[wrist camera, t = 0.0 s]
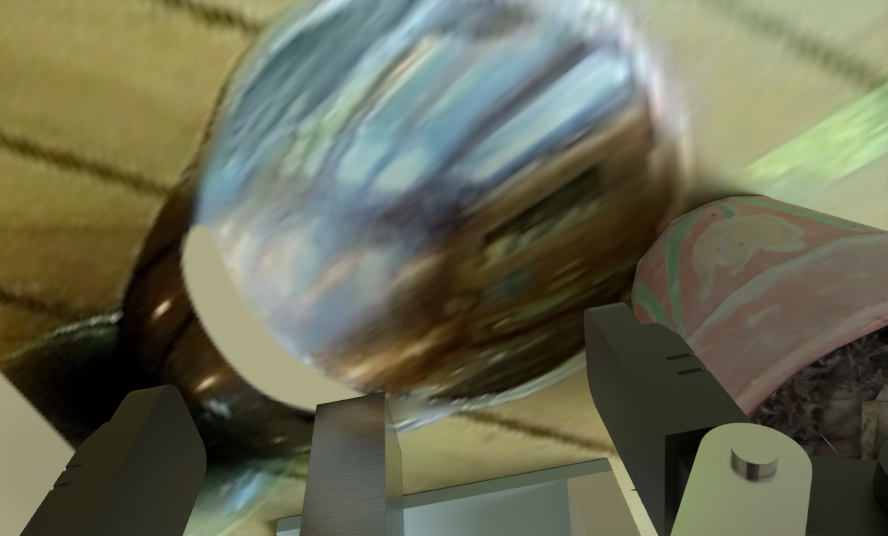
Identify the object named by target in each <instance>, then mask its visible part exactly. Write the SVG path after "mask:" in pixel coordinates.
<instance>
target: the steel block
mask: <svg viewBox="0 0 888 536" xmlns="http://www.w3.org/2000/svg"><path fill="white" fill-rule="evenodd" d="M299 536H405V532H404V507H403V482H402V457H401V449H400V445H399V442H398V438H397V435H396V431H395V427H394V424H393V420H392V417H391V413H390V409H389V406H388V402H387V399H386V395H385V392H383V393H378V394H373V395H367V396H362V397H356V398H351V399H346V400H340V401H335V402H330V403H325V404H319V405H317V407H316V415H315V422H314V430H313V437H312V445H311V452H310V459H309V467H308V474H307V482H306V489H305V497H304V504H303V512H302V519H301V526H300V534H299Z"/></svg>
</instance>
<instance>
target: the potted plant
mask: <svg viewBox="0 0 888 536" xmlns="http://www.w3.org/2000/svg"><path fill="white" fill-rule="evenodd" d="M631 301H632V306H633V308H634V313H635V317H636V318H637V319H638V321H639V322H640V323H641V325H646V324H651V323H656V322H657V323H659V324H661V325H663V326H665V327H666V328H668V329H670V330H672V331H673V332H675V333H677V334H679V335H680V336H681V337H682V338H683V339H684V341H685V342H686V343H687V344H688V345H689V347H690V348H691V349H692V350H693V351H694V354H695V356H698V358H699V359H700V360H701V361H702V362H703V364H704V365H705V366H706V369H707V371H710V372H711V373H712V375H713V376H714V377H715V378H716V379H717V381H718V382H719V383H720V384H721V385H722V387H723V388H724V389H725V390H726V392H727V393H728V394H729V395H730V396H731V398H732V399H733V400H734V401H735V402H736V404H737V405H738V406H739V407H740V409H741V410H742V411H743V412H744V413H745V415H746V416H747V417H748V418H749V419H750V421H751V422H752V423H753V424H757V425H762V426H765V427H769V428H772V429H774V430H776V431H779V432H781V433H783V434H785V435H786V436H788V437H790V438H791V439H792V440H794V441H795V442H796V443H797V444H799V445H800V446H801V447H802V448H803V450H804V451H805V452H806V453H807V454H808V455H813V456H818V457H827V458H842V459H856V460H871V461H877V460H878V455H879V451H880V449H881V446H882V445H883V444H884V442H885V441H887V440H888V231H885V230H881V229H878V228H874V227H871V226H867V225H864V224H860V223H857V222H853V221H849V220H846V219H842V218H839V217H835V216H832V215H828V214H825V213H821V212H818V211H814V210H811V209H807V208H803V207H800V206H796V205H792V204H789V203H785V202H782V201H778V200H774V199H771V198H769V197H767V196H731V197H727V198H723V199H719V200H715V201H711V202H709V203H707V204H705V205H702V206H700V207H698V208H696V209H694V210H692V211H690V212H688V213H686V214H684V215H682V216H680V217H677V218H675V219H673V220H672V221H671V222H670V223H669V225H668V226H667V227H666V228H665V230H664V231H663V232H662V233H661V235H660V236H659V237H658V238H657V239H656V241H655V242H654V243H653V244H652V246H651V247H650V248H649V249H648V250H647V252H646V253H645V254H644V255H643V257H642V258H641V259H640V260H639V261H638V263H637V268H636V273H635V278H634V283H633V288H632V293H631ZM633 490H636V489H633Z"/></svg>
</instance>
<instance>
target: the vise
mask: <svg viewBox="0 0 888 536" xmlns="http://www.w3.org/2000/svg"><path fill="white" fill-rule="evenodd" d="M403 507H404V532H405V536H641V535H640V533H639V530H638V528H637V526H636V523H635V521H634V519H633V516H632V514H631V512H630V509H629V507H628V505H627V502H626V500H625V498H624V495H623V493H622V491H621V488H620V486H619V484H618V482H617V479H616V477H615V475H614V472H613V470H612V468H611V465H610V463H609V461H608V458H606V459H601V460H596V461H590V462H585V463H579V464H574V465H569V466H563V467H558V468H552V469H547V470H542V471H536V472H531V473H526V474H520V475H515V476H509V477H504V478H499V479H493V480H488V481H482V482H477V483H472V484H466V485H461V486H455V487H450V488H445V489H439V490H434V491H428V492H423V493H418V494H412V495H407V496H403ZM301 519H302V515H299V516H294V517H288V518H283V519H278V523H277V529H276V534H277V536H299V534H300V526H301Z"/></svg>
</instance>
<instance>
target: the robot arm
mask: <svg viewBox="0 0 888 536" xmlns="http://www.w3.org/2000/svg"><path fill="white" fill-rule="evenodd" d="M584 332H585V347H586V362H587V376H588V382H589V387H590V391H591V395H592V398H593V401H594V404H595V406H596V408H597V410H598V412H599V414H600V417H601V419H602V421H603V423H604V425H605V427H606V429H607V431H608V433H609V435H610V437H611V439H612V441H613V443H614V445H615V447H616V449H617V452H618V454H619V456H620V458H621V460H622V462H623V464H624V466H625V468H626V470H627V472H628V474H629V476H630V478H631V480H632V482H633V484H634V487H635V489H636V491H637V493H638V495H639V497H640V499H641V501H642V503H643V505H644V507H645V509H646V511H647V513H648V515H649V517H650V520H651V522H652V524H653V526H654V528H655V530H656V532H657V534H658V536H888V440H887V441H885V442H884V444H883V445H882V446H881V449H880V451H879V455H878V460H877V461H871V460H856V459H842V458H827V457H818V456H813V455H808V454H807V453H806V452H805V451H804V450H803V448H802V447H801V446H800V445H799V444H797V443H796V442H795V441H794V440H792V439H791V438H790V437H788V436H786V435H785V434H783V433H781V432H779V431H776V430H774V429H772V428H769V427H765V426H762V425H757V424H753V423H752V422H751V421H750V419H749V418H748V417H747V416H746V415H745V413H744V412H743V411H742V410H741V409H740V407H739V406H738V405H737V404H736V402H735V401H734V400H733V399H732V398H731V396H730V395H729V394H728V393H727V392H726V390H725V389H724V388H723V387H722V385H721V384H720V383H719V382H718V381H717V379H716V378H715V377H714V376H713V375H712V373H711V372H710V371H707V369H706V366H705V365H704V364H703V362H702V361H701V360H700V359H699V358H698V356H695V354H694V351H693V350H692V349H691V348H690V347H689V345H688V344H687V343H686V342H685V341H684V339H683V338H682V337H681V336H680V335H679V334H677V333H675V332H673V331H672V330H670V329H668V328H666V327H665V326H663V325H661V324H659V323H657V322H656V323H651V324H646V325H641V323H640V322H639V321H638V319H637V318H636V317H635V315H634V314H633V313H632V311H631V310H630V308H629V307H628V306H627V305H626V304H625V303H624V302H621V303H616V304H611V305H605V306H600V307H594V308H589V309H585V311H584ZM206 465H207V459H206V451H205V447H204V444H203V441H202V439H201V437H200V435H199V433H198V430H197V428H196V426H195V424H194V422H193V420H192V417H191V415H190V413H189V411H188V409H187V406H186V404H185V402H184V400H183V398H182V395H181V394H180V392H179V390H178V389H177V388H176V387H175V386H174V385H165V386H159V387H154V388H148V389H143V390H138V391H132V392H130V393H129V394H127V396H126V397H125V398H124V400H123V401H122V403H121V405H120V406H119V408H118V409H117V411H116V412H115V414H114V416H113V417H112V419H111V420H110V422H107V423H104V424H103V425H102V426H101V427H100V428H99V429H97V430H96V431H95V432H94V433H93V434H92V435H91V436H90V437H88V438H87V439H86V440H85V441H84V442H83V443H82V444H81V445H80V446H79V448H78V449H77V451H76V452H75V454H74V455H73V457H72V458H71V460H70V461H69V463H68V464H67V466H66V471H63V472H62V473H61V475H60V477H59V478H58V479H57V481H56V482H55V484H54V485H53V486H54V489H53V490H50V491H49V493H48V494H47V496H46V497H45V499H44V500H43V502H42V503H41V505H40V506H39V508H38V509H37V511H36V512H35V514H34V515H33V517H32V518H31V520H30V521H29V522H28V524H27V526H26V527H25V528H24V530H23V531H22V533H21V534H20V536H183V533H184V531H185V528H186V525H187V523H188V520H189V517H190V515H191V512H192V509H193V507H194V504H195V501H196V499H197V496H198V493H199V491H200V488H201V485H202V483H203V480H204V477H205V473H206Z"/></svg>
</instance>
